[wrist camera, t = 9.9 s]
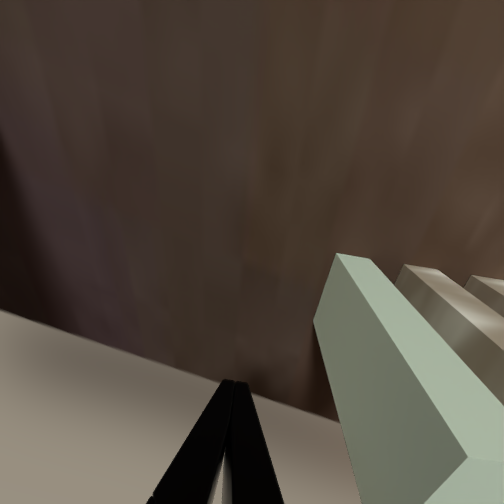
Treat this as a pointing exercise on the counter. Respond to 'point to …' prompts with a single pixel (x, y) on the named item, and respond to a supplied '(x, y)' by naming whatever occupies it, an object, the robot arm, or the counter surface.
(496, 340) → the domino
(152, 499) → the robot arm
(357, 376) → the domino
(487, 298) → the domino
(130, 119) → the counter surface
